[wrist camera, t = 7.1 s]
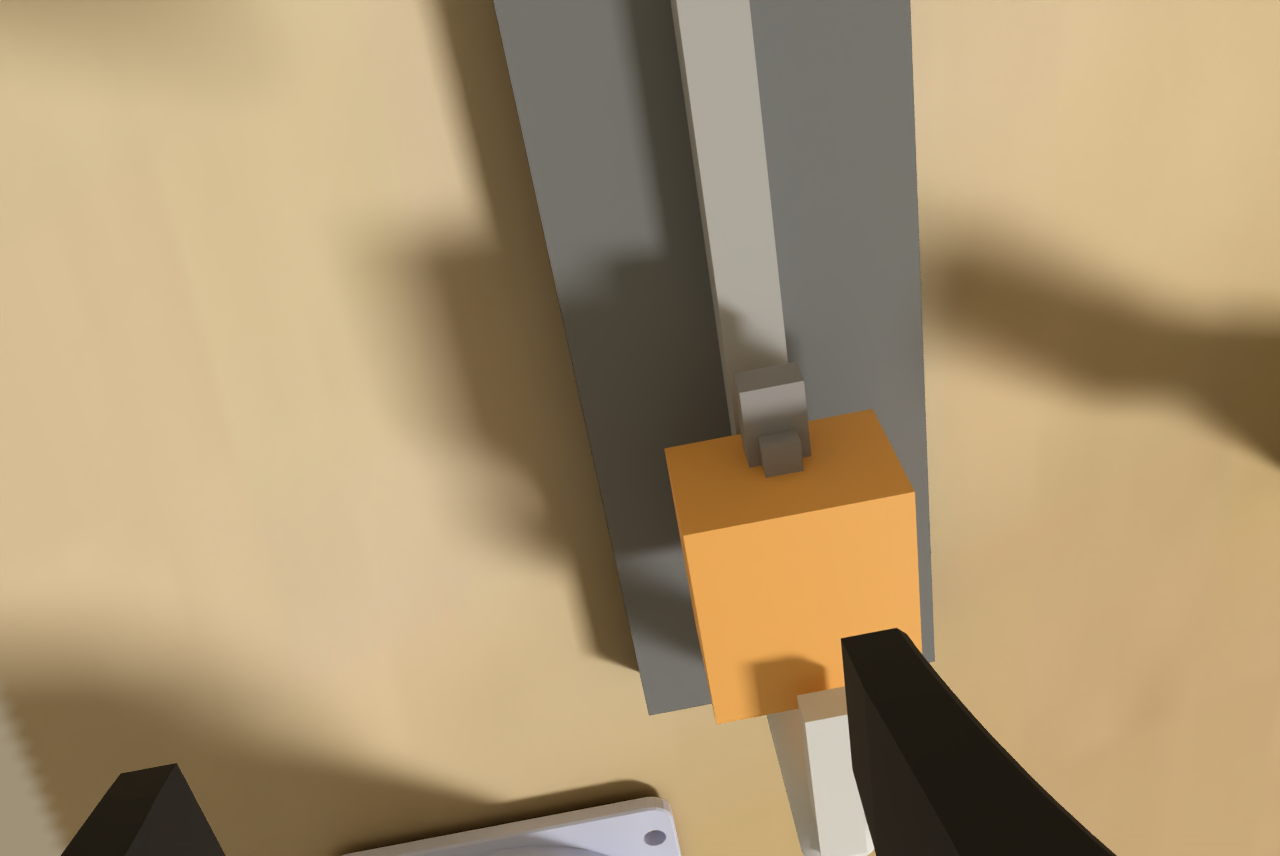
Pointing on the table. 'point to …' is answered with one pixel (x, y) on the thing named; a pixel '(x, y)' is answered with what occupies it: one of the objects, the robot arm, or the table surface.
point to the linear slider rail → (728, 279)
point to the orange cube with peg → (792, 544)
